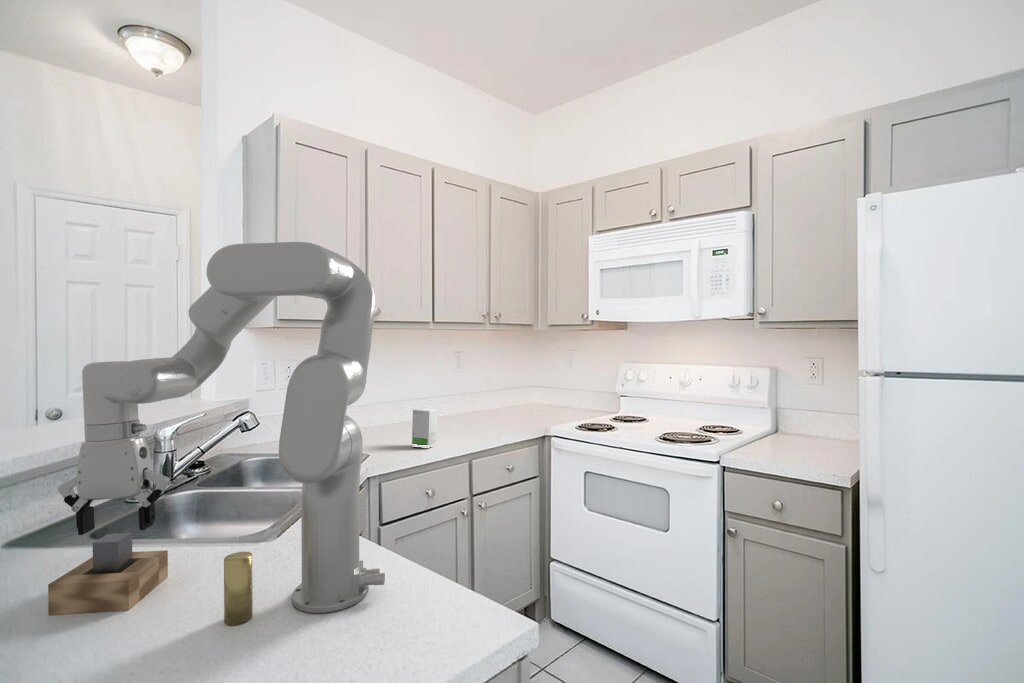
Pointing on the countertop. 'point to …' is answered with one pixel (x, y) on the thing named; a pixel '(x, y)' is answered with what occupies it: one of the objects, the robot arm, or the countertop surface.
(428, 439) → the skincare box
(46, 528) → the countertop surface
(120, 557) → the square bit
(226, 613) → the round bit
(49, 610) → the bore block
